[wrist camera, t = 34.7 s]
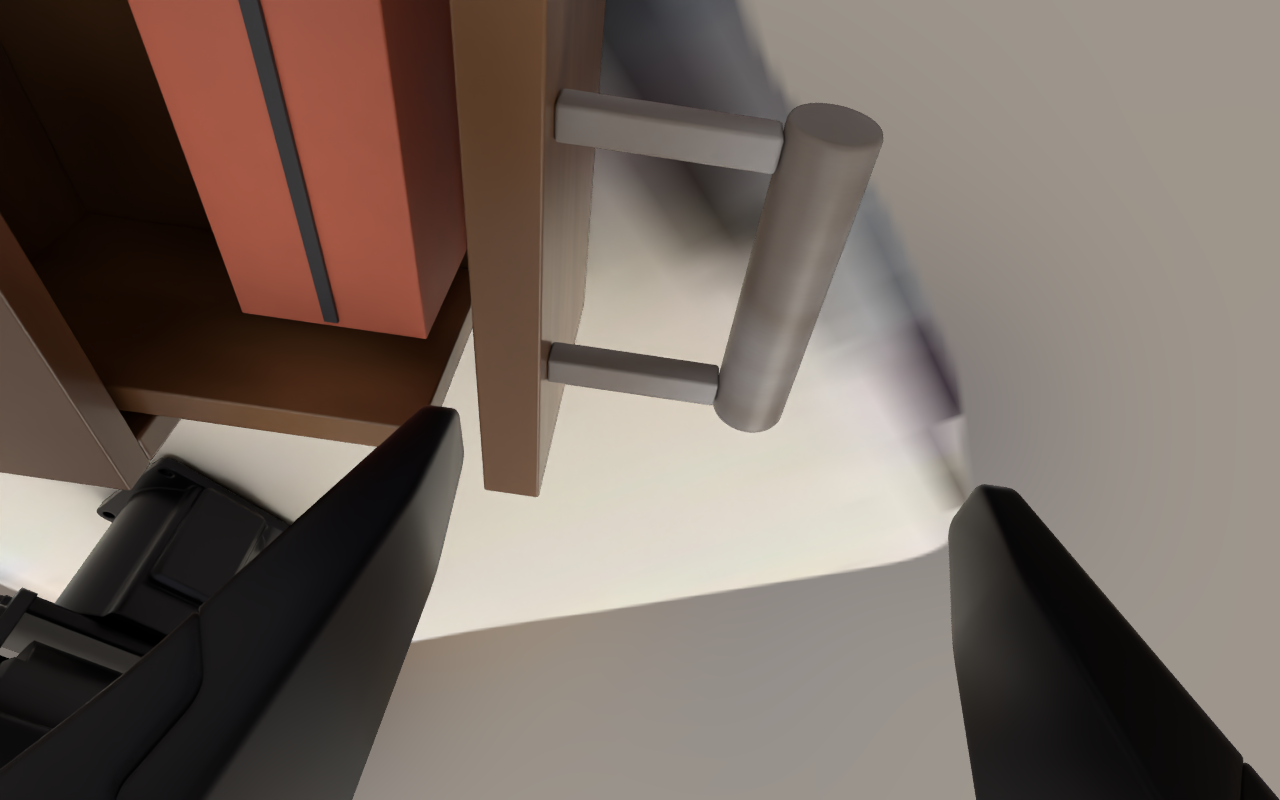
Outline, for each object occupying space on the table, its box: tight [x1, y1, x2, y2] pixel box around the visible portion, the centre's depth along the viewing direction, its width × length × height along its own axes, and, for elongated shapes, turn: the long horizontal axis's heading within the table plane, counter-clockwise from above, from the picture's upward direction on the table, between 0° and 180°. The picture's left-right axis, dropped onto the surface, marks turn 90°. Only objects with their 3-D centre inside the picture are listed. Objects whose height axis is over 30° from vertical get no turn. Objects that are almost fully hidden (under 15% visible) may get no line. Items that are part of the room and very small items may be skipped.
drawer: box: [0, 0, 883, 497], centre depth 14 cm, size 18×11×7 cm, turn 84°
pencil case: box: [128, 0, 467, 339], centre depth 14 cm, size 7×4×4 cm, turn 174°
